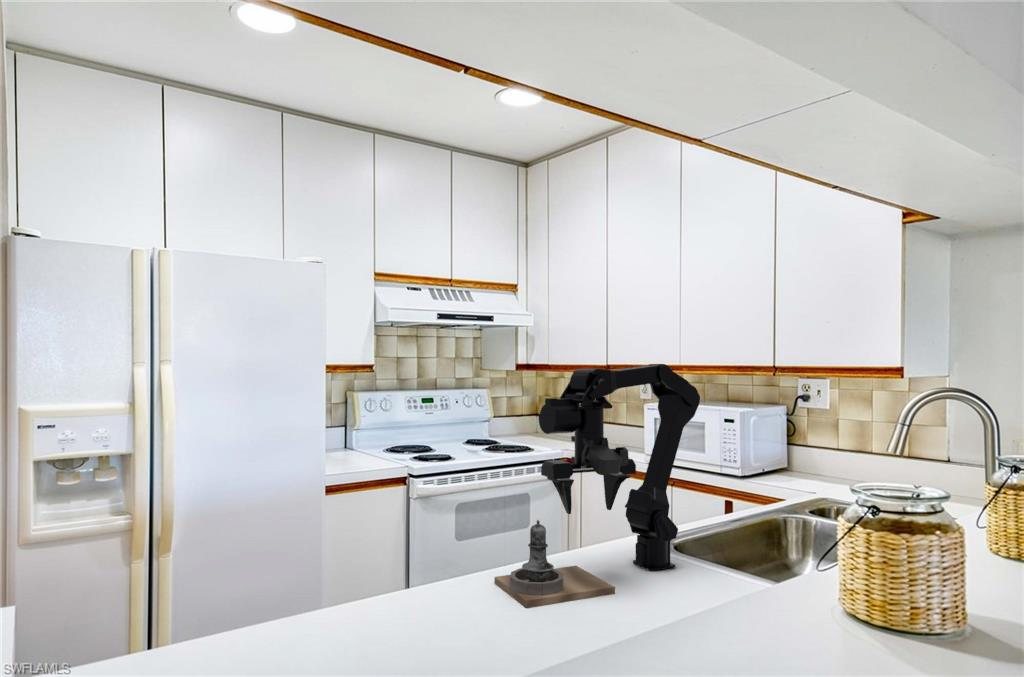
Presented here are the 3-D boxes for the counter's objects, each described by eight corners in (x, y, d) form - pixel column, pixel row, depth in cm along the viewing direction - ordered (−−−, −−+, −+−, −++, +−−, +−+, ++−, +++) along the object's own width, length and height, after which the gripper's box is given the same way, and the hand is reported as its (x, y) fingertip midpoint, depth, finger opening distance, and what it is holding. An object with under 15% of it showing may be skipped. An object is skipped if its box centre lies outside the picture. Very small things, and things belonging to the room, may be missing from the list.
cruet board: (576, 571, 129) (576, 555, 129) (614, 593, 116) (614, 575, 117) (494, 583, 122) (494, 566, 122) (526, 607, 109) (526, 588, 109)
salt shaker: (520, 581, 119) (521, 516, 120) (551, 580, 120) (552, 516, 120) (523, 591, 114) (523, 523, 114) (555, 591, 114) (556, 523, 115)
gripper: (568, 437, 115) (567, 525, 114) (652, 434, 123) (653, 516, 122) (540, 432, 125) (539, 512, 124) (619, 429, 133) (620, 505, 132)
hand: (589, 511), depth 125 cm, fingers open, 9 cm apart
